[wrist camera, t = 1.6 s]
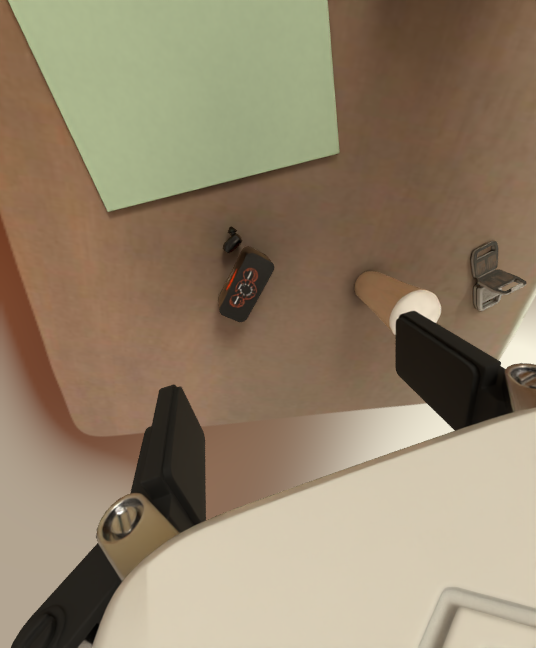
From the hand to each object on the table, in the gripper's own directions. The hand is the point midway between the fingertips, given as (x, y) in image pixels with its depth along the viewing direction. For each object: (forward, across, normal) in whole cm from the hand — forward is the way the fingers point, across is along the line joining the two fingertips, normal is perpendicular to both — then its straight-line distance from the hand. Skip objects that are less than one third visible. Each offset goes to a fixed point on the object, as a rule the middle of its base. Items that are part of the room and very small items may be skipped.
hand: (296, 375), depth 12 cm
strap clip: (+18, -28, +9) cm, 34 cm away
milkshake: (+18, -13, +6) cm, 23 cm away
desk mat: (+18, -1, -14) cm, 23 cm away
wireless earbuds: (+18, 0, 0) cm, 18 cm away
